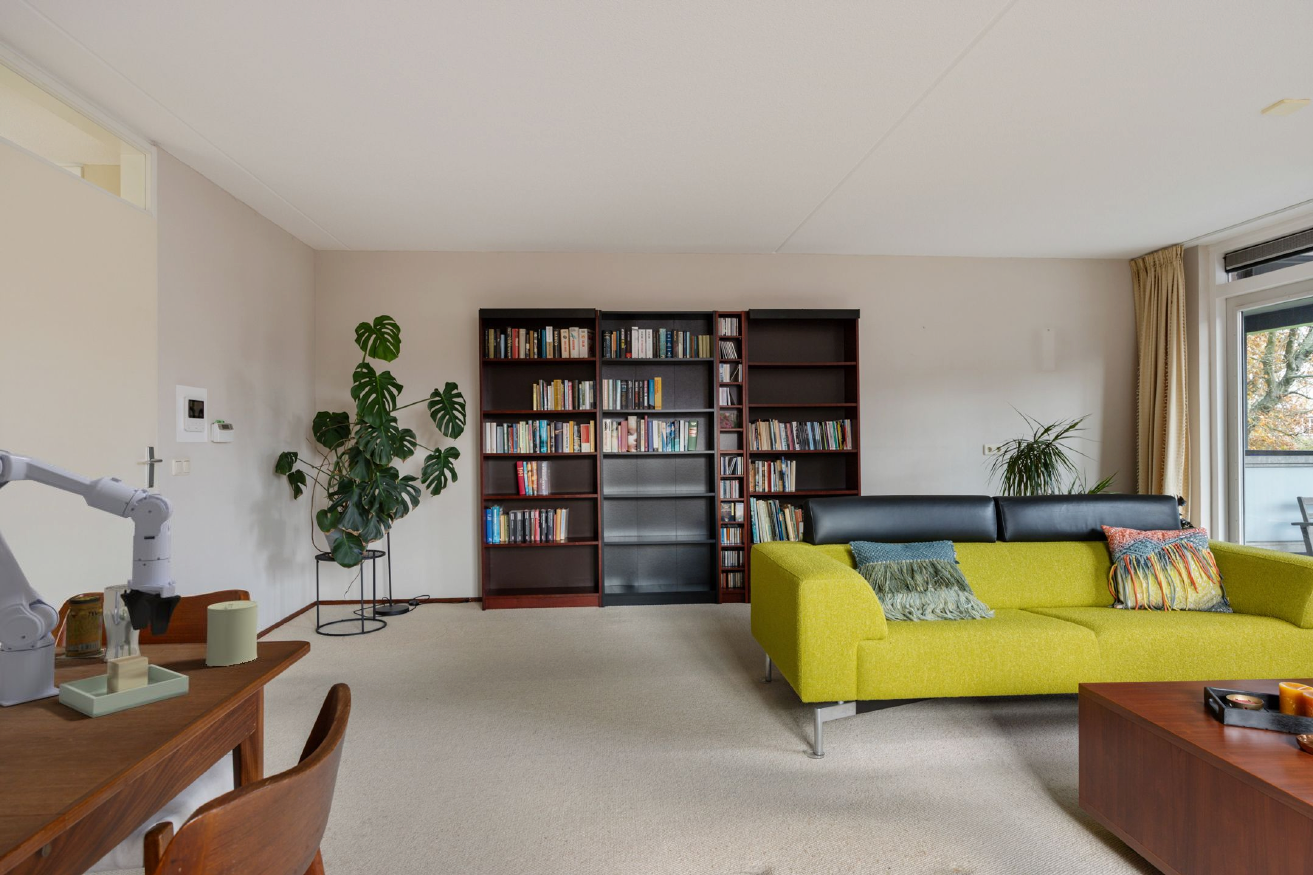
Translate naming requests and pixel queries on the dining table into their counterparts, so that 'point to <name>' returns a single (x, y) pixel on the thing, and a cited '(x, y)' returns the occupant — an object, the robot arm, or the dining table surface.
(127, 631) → the beer glass
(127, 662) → the birch block
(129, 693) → the bin
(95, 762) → the dining table surface
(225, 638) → the can
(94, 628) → the condiment
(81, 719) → the dining table surface
